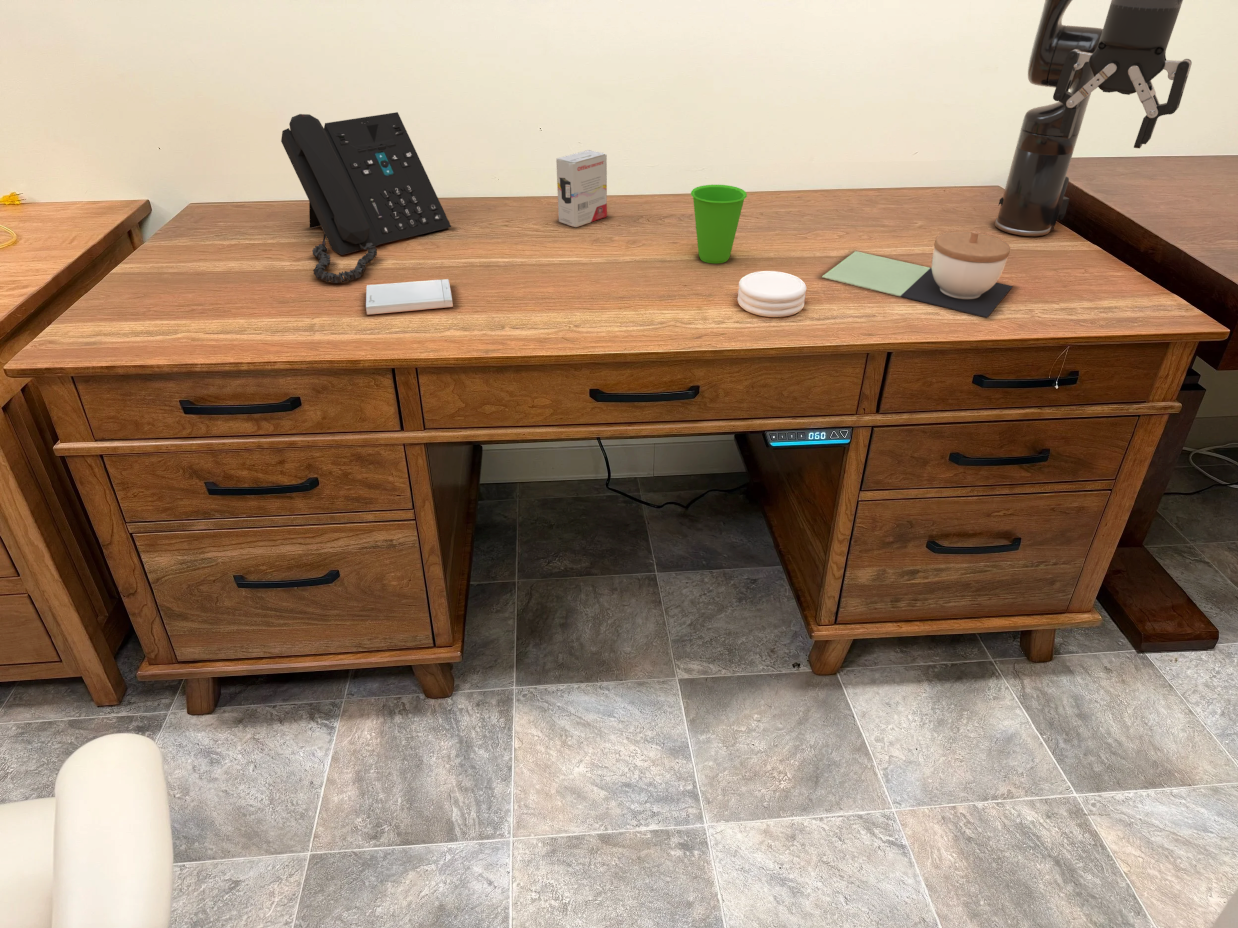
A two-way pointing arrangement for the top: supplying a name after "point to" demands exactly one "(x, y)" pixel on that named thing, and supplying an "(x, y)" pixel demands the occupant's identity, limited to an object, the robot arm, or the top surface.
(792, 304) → the white round stack
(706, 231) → the cup
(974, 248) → the trinket box
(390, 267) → the top surface
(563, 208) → the ink box
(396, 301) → the hard drive
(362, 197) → the office phone
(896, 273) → the runner mat
